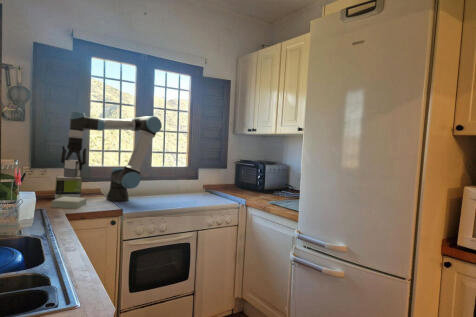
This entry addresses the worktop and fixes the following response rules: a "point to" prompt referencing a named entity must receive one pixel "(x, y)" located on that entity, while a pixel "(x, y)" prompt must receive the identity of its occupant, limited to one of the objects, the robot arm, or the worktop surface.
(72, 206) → the stand
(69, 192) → the tea box
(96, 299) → the worktop surface
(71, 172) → the block
